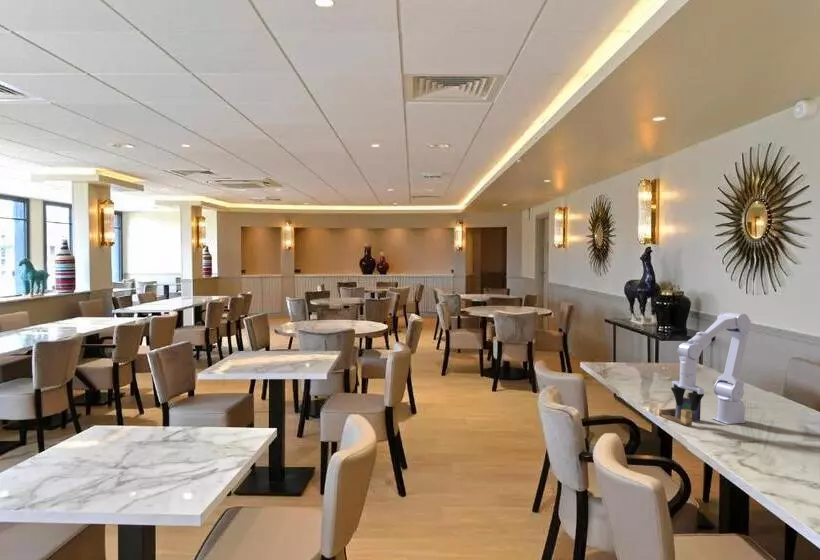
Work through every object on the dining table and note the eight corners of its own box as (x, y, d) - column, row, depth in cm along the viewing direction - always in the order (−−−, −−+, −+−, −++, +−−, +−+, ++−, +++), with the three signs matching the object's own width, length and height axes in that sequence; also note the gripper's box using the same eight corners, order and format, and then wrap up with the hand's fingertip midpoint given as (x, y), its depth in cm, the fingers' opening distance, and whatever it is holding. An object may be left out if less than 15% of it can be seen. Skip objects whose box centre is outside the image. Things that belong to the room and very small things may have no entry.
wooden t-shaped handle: (682, 413, 237) (683, 400, 236) (710, 424, 222) (711, 409, 222) (658, 415, 233) (659, 401, 233) (685, 426, 219) (686, 411, 219)
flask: (675, 419, 229) (676, 393, 229) (674, 417, 232) (675, 391, 232) (700, 421, 227) (701, 395, 226) (699, 419, 229) (700, 393, 229)
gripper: (666, 370, 226) (664, 403, 226) (693, 378, 212) (691, 413, 212) (680, 369, 228) (679, 402, 228) (708, 377, 214) (707, 412, 214)
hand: (686, 408), depth 220 cm, fingers open, 7 cm apart
